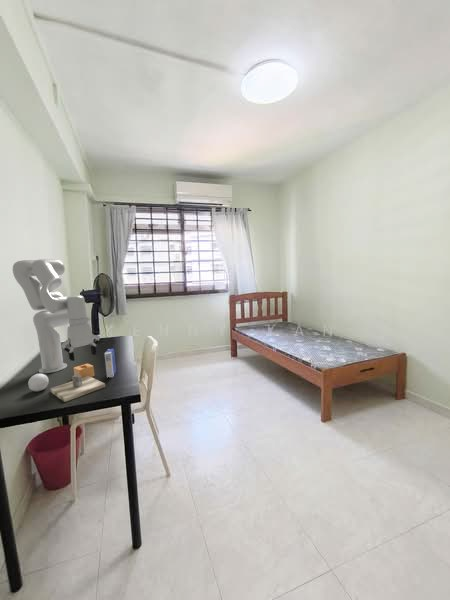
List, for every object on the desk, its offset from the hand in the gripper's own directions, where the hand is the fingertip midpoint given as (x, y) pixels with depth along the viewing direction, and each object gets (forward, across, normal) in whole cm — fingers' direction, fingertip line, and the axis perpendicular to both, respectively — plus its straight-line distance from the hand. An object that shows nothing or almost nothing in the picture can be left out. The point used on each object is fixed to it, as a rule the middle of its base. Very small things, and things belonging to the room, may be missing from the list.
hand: (83, 357), depth 127 cm
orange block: (+10, 0, -1) cm, 10 cm away
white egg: (+10, +19, -1) cm, 22 cm away
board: (+10, +8, +12) cm, 18 cm away
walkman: (+10, -9, +8) cm, 16 cm away
